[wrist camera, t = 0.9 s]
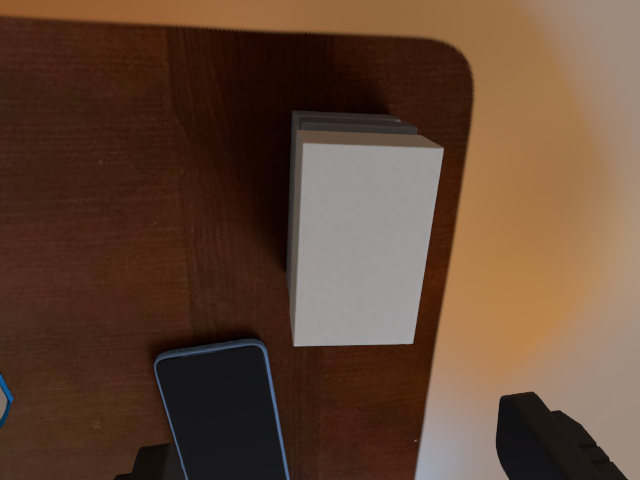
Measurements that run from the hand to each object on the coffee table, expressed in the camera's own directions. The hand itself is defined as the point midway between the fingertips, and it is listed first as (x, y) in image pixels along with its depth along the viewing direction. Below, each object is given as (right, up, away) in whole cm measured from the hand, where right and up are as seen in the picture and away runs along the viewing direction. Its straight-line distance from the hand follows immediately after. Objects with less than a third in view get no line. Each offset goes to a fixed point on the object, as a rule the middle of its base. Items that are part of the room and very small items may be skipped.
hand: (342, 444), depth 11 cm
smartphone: (-7, -8, +22) cm, 25 cm away
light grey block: (+1, +6, +12) cm, 13 cm away
